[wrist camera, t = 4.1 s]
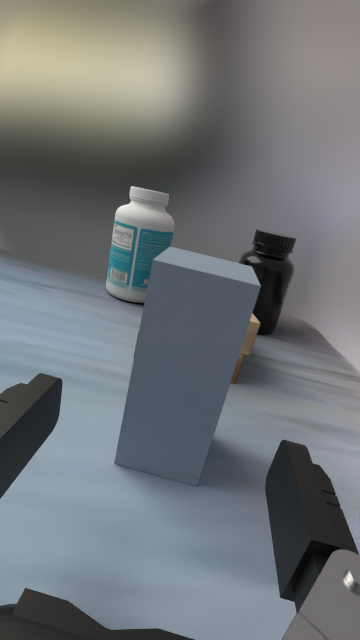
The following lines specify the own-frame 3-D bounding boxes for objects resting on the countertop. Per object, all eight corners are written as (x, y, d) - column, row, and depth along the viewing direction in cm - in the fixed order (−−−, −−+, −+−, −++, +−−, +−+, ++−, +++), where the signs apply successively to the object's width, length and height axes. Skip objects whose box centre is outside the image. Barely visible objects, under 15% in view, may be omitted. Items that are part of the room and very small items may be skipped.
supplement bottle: (243, 312, 48) (268, 230, 43) (283, 331, 43) (315, 242, 39) (212, 316, 43) (238, 224, 39) (254, 338, 39) (287, 237, 34)
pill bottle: (161, 293, 47) (181, 197, 43) (157, 309, 41) (180, 197, 36) (111, 282, 47) (125, 184, 42) (98, 297, 40) (114, 181, 35)
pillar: (114, 463, 17) (152, 259, 13) (136, 412, 21) (170, 246, 17) (197, 486, 17) (260, 286, 13) (202, 430, 21) (251, 266, 17)
